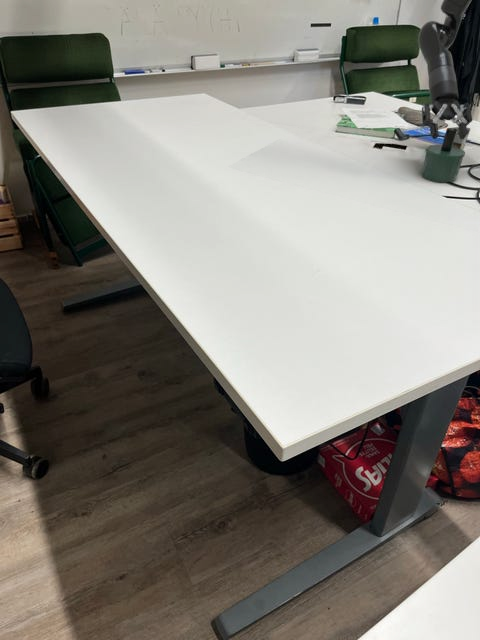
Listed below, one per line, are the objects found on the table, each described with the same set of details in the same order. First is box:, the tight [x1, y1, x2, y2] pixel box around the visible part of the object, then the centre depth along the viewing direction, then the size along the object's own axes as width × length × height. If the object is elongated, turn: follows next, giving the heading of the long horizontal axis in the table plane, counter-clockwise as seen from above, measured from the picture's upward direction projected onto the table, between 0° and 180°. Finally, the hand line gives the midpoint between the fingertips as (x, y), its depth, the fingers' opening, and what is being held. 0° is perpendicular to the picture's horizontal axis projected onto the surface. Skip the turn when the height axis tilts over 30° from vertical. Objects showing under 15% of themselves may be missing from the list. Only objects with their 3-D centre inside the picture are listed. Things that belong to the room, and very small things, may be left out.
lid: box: [425, 127, 466, 158], centre depth 141 cm, size 11×11×7 cm
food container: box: [452, 126, 471, 150], centre depth 155 cm, size 12×6×10 cm, turn 149°
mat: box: [372, 142, 408, 151], centre depth 170 cm, size 11×11×1 cm
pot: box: [420, 151, 464, 184], centre depth 145 cm, size 10×10×7 cm
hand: (449, 137), depth 140 cm, fingers open, 8 cm apart
